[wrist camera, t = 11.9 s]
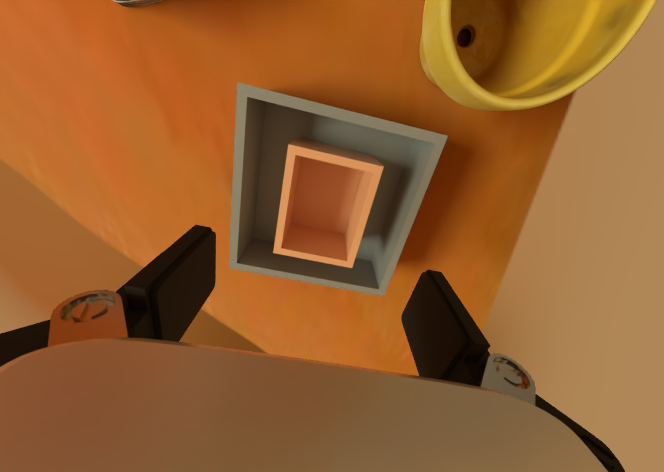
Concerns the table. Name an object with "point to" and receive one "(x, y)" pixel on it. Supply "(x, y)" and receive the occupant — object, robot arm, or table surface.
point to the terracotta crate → (325, 202)
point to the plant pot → (523, 47)
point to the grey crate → (268, 173)
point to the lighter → (136, 2)
